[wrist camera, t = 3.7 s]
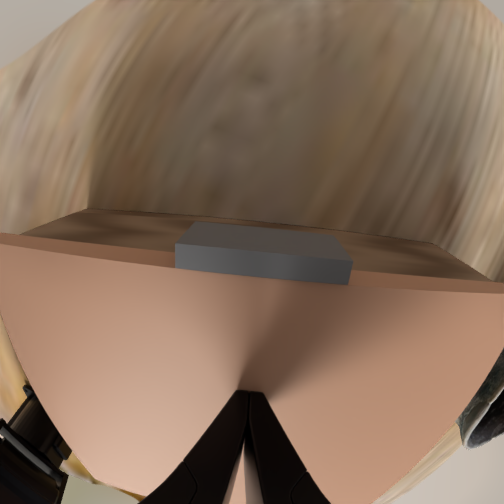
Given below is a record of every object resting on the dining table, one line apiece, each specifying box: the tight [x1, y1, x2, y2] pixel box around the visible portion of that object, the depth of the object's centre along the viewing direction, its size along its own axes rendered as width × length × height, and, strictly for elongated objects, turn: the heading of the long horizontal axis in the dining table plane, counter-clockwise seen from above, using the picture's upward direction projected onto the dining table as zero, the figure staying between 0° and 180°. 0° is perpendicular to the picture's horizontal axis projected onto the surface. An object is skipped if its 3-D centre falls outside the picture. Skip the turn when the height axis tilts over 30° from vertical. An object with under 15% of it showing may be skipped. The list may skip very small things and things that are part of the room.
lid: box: [0, 221, 504, 504], centre depth 10 cm, size 20×19×2 cm
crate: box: [20, 209, 493, 282], centre depth 14 cm, size 20×18×6 cm
